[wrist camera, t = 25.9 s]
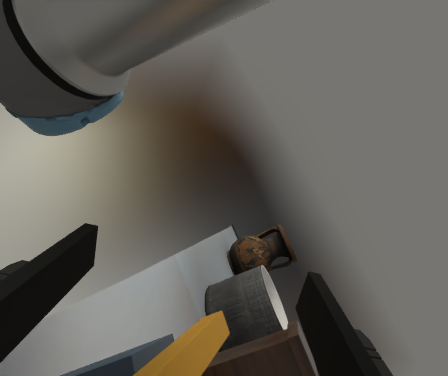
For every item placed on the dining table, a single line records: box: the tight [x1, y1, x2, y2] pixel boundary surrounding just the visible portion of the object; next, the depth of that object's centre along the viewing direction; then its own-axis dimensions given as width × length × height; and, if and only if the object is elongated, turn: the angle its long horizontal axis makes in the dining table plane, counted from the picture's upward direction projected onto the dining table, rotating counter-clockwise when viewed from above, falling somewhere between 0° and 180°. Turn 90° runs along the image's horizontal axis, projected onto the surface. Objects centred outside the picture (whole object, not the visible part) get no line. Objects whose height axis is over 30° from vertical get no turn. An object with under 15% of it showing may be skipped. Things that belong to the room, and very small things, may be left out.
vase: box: [227, 224, 297, 275], centre depth 143 cm, size 24×24×35 cm
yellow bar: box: [133, 311, 230, 376], centre depth 22 cm, size 25×3×3 cm, turn 144°
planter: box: [205, 265, 288, 352], centre depth 90 cm, size 25×25×22 cm
